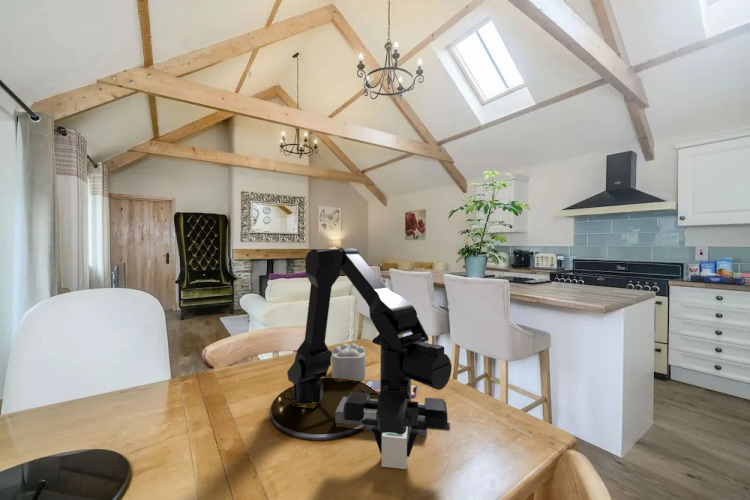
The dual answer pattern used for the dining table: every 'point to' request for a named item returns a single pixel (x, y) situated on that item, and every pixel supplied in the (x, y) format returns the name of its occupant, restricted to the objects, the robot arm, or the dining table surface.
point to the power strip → (340, 418)
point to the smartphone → (376, 386)
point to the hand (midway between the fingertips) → (395, 454)
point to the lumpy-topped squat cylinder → (348, 362)
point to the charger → (394, 450)
